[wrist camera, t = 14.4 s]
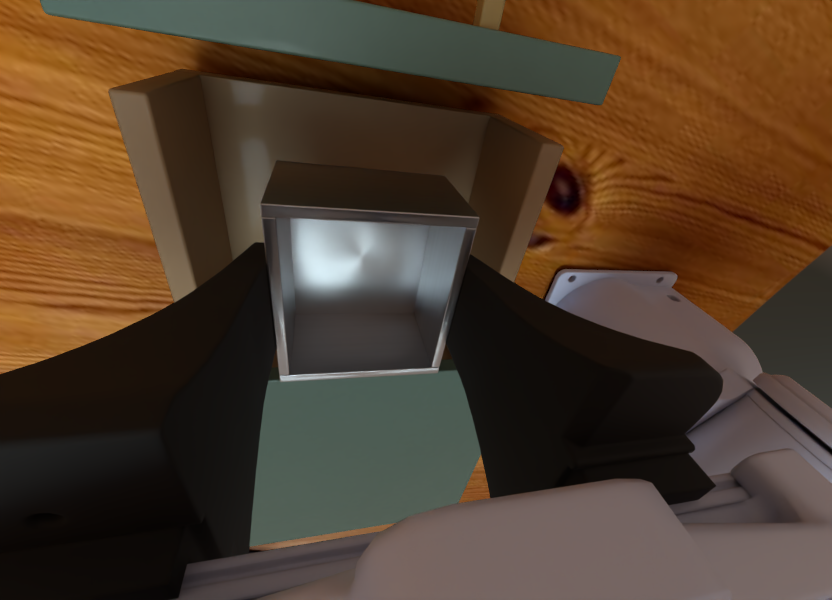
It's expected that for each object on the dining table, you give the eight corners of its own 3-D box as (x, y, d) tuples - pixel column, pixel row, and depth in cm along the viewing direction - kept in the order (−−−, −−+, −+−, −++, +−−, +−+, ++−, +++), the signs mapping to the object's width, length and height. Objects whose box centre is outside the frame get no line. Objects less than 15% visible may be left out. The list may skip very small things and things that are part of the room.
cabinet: (202, 271, 18) (143, 387, 12) (468, 276, 21) (522, 366, 16) (242, 436, 26) (218, 552, 20) (428, 419, 30) (453, 513, 24)
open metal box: (445, 175, 11) (480, 217, 9) (418, 313, 14) (437, 373, 12) (276, 160, 10) (259, 203, 7) (288, 315, 13) (279, 382, 11)
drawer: (67, -359, 8) (-295, -909, 3) (584, -160, 11) (763, -291, 6) (219, 314, 18) (186, 404, 14) (456, 312, 22) (489, 384, 17)
